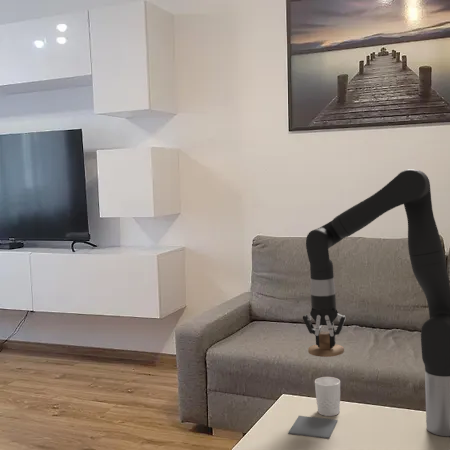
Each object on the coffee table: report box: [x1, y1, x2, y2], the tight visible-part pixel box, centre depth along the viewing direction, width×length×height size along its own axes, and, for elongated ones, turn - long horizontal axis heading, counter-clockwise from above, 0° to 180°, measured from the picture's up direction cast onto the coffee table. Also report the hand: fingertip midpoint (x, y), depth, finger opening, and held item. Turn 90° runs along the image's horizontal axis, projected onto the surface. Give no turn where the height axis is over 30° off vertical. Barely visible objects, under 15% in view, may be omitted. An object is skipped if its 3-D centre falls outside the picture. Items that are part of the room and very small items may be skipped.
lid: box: [307, 331, 345, 358], centre depth 182 cm, size 11×11×6 cm
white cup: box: [314, 376, 341, 417], centre depth 183 cm, size 8×8×10 cm
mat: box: [287, 415, 339, 439], centre depth 173 cm, size 12×12×1 cm
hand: (325, 346), depth 182 cm, fingers closed on lid, 3 cm apart
